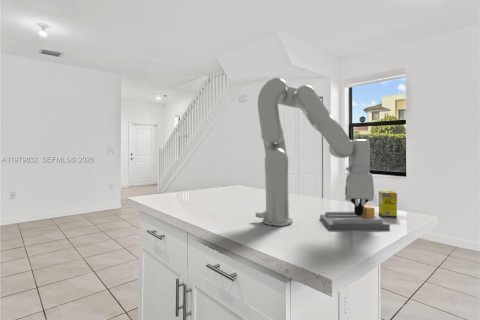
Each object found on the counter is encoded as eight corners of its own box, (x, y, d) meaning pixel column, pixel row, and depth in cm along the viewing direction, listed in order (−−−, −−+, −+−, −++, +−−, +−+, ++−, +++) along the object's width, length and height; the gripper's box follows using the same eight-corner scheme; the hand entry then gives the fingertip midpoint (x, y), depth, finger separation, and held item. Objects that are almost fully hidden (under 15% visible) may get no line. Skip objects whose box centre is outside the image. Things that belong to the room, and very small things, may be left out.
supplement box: (397, 217, 119) (397, 193, 119) (382, 217, 120) (382, 192, 120) (392, 214, 125) (392, 190, 125) (378, 214, 126) (378, 190, 126)
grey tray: (334, 223, 105) (334, 219, 105) (325, 215, 118) (325, 211, 118) (382, 223, 104) (382, 219, 104) (368, 215, 117) (368, 211, 117)
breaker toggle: (366, 220, 108) (366, 208, 108) (362, 217, 113) (362, 205, 113) (374, 220, 108) (374, 208, 108) (369, 217, 113) (369, 205, 113)
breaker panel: (329, 229, 104) (329, 223, 104) (320, 219, 120) (320, 213, 120) (389, 229, 102) (389, 222, 102) (371, 218, 118) (371, 212, 118)
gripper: (343, 170, 107) (342, 217, 107) (382, 170, 106) (381, 217, 107) (337, 169, 114) (337, 212, 115) (374, 169, 113) (373, 213, 114)
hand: (358, 215), depth 111 cm, fingers closed
